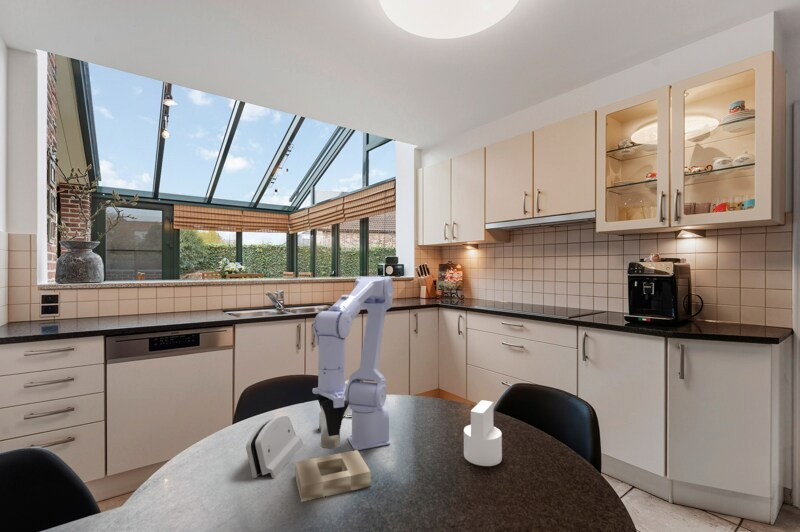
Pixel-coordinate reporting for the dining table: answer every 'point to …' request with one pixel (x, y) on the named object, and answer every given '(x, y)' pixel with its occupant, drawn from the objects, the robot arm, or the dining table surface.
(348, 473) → the hole plate
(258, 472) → the white slotted housing
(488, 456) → the base with upright slab
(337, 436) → the tall pin
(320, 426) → the short pin
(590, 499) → the dining table surface
